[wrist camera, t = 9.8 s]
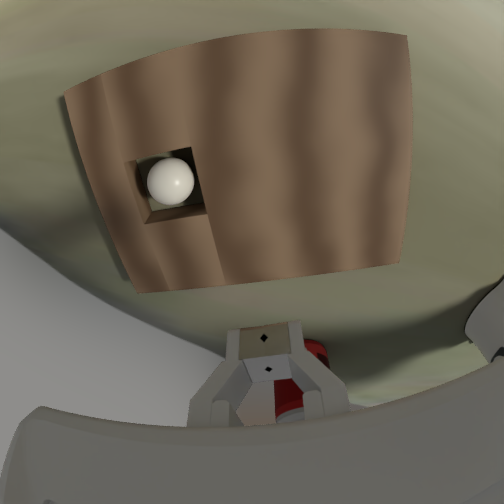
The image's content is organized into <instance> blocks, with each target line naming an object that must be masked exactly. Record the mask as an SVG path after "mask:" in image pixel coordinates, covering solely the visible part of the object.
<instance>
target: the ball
mask: <svg viewBox="0 0 504 504" xmlns="http://www.w3.org/2000/svg"><path fill="white" fill-rule="evenodd" d="M147 186H148V190H149V192H150V194H151V196H152V197H153V198H154V199H155V200H156V201H158V202H159V203H162V204H165V205H175V204H178V203H181V202H182V201H184V200H185V199H186V198H187V197H188V196H189V195H190V194H191V192H192V190H193V187H194V174H193V171H192V169H191V168H190V166H189V165H188V164H187V163H186V162H184V161H183V160H181V159H178V158H165V159H162V160H160V161H159V162H157V163H156V164H155V165H154V166H153V167H152V168H151V170H150V172H149V174H148V178H147Z"/></svg>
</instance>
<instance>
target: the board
mask: <svg viewBox="0 0 504 504" xmlns="http://www.w3.org/2000/svg"><path fill="white" fill-rule="evenodd" d="M64 97H65V101H66V105H67V109H68V113H69V117H70V121H71V125H72V128H73V132H74V135H75V139H76V142H77V146H78V149H79V152H80V155H81V159H82V162H83V165H84V168H85V171H86V174H87V177H88V180H89V182H90V185H91V188H92V191H93V193H94V196H95V199H96V201H97V204H98V207H99V209H100V212H101V214H102V217H103V219H104V222H105V224H106V227H107V229H108V231H109V234H110V236H111V238H112V241H113V243H114V245H115V248H116V250H117V252H118V254H119V256H120V259H121V261H122V263H123V265H124V267H125V269H126V271H127V273H128V275H129V278H130V280H131V282H132V284H133V286H134V288H135V290H136V292H137V294H138V293H150V292H162V291H173V290H184V289H195V288H205V287H215V286H225V285H234V284H243V283H252V282H261V281H270V280H278V279H287V278H295V277H303V276H311V275H318V274H326V273H333V272H341V271H348V270H355V269H362V268H369V267H376V266H382V265H389V264H396V263H399V261H400V256H401V250H402V244H403V238H404V231H405V224H406V217H407V209H408V200H409V190H410V178H411V163H412V138H413V107H412V83H411V69H410V58H409V49H408V41H407V35H401V34H394V33H386V32H377V31H367V30H353V29H291V30H277V31H266V32H257V33H249V34H242V35H235V36H229V37H223V38H218V39H213V40H208V41H203V42H198V43H194V44H190V45H186V46H182V47H178V48H174V49H171V50H167V51H164V52H160V53H157V54H154V55H151V56H148V57H145V58H142V59H139V60H136V61H133V62H130V63H127V64H125V65H122V66H120V67H117V68H114V69H112V70H109V71H107V72H105V73H102V74H100V75H98V76H95V77H93V78H91V79H89V80H87V81H84V82H82V83H80V84H78V85H76V86H74V87H72V88H70V89H68V90H66V91H64ZM190 146H191V148H192V152H193V157H194V161H195V165H196V170H197V174H198V178H199V182H200V186H201V190H202V195H203V199H204V203H200V204H193V205H188V206H182V207H176V208H170V209H165V210H159V211H154V212H152V210H151V207H150V204H149V201H148V198H147V195H146V192H145V189H144V186H143V182H142V179H141V176H140V173H139V169H138V166H137V162H136V159H139V158H143V157H147V156H151V155H155V154H159V153H163V152H168V151H172V150H176V149H181V148H186V147H190Z"/></svg>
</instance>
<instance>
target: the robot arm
mask: <svg viewBox="0 0 504 504" xmlns="http://www.w3.org/2000/svg"><path fill="white" fill-rule="evenodd" d="M465 334H466V336H467V337H469V338H470V339H471V340H472V341H473V343H474V344H475V346H477V347H478V349H479V350H480V351H481V353H482V354H483V356H484V357H485V359H486V360H487V362H488V363H489V364H488V365H486V366H484V367H482V368H480V369H477V370H475V371H473V372H471V373H469V374H466V375H464V376H462V377H459V378H457V379H454V380H452V381H450V382H447V383H445V384H442V385H439V386H437V387H434V388H431V389H428V390H426V391H423V392H420V393H417V394H414V395H411V396H408V397H404V398H401V399H398V400H395V401H391V402H388V403H384V404H380V405H376V406H373V407H369V408H365V409H360V410H356V411H351V409H350V404H349V399H348V395H347V390H346V385H345V383H344V382H342V381H341V380H340V379H339V378H338V377H337V376H336V375H335V374H334V373H332V372H331V371H330V370H329V369H328V368H327V367H326V366H325V365H324V364H323V363H322V362H320V361H319V360H318V359H317V358H316V357H315V356H314V355H313V354H312V353H311V352H310V351H305V346H304V340H303V333H302V327H301V321H300V320H296V321H290V322H283V323H277V324H271V325H264V326H259V327H250V328H241V329H232V330H229V331H228V333H227V345H226V358H225V362H221V364H220V365H219V366H218V367H217V369H216V370H215V371H214V372H213V373H212V375H211V376H210V377H209V378H208V380H207V381H206V382H205V383H204V385H203V386H202V387H201V388H200V389H199V390H198V392H197V393H196V394H195V395H194V396H193V398H192V399H191V400H190V405H189V413H188V420H187V427H174V426H158V425H145V424H135V423H127V422H119V421H112V420H106V419H99V418H94V417H88V416H83V415H78V414H73V413H68V412H65V411H60V410H56V409H52V408H49V407H45V406H40V407H38V408H36V409H35V410H33V411H32V412H31V413H30V414H29V415H28V416H27V417H25V418H24V419H23V420H22V421H21V422H20V424H19V426H18V427H17V429H16V431H15V433H14V436H13V439H12V441H11V444H10V447H9V450H8V452H7V455H6V459H5V462H4V465H3V469H2V473H1V477H0V504H504V279H503V281H502V282H501V283H500V284H499V285H498V286H497V287H496V288H495V289H493V290H492V291H491V292H490V293H489V294H488V295H487V296H486V297H485V298H484V299H483V300H482V301H481V302H480V303H479V305H478V306H477V307H476V308H475V310H474V311H473V313H472V314H471V316H470V317H469V319H468V321H467V324H466V327H465ZM289 378H292V379H293V381H294V382H295V383H296V384H297V385H298V386H299V388H300V389H301V390H302V391H303V392H304V394H303V404H304V415H305V420H301V421H294V422H286V423H277V424H266V425H254V426H244V425H243V423H242V422H241V420H240V418H239V417H238V415H237V414H236V410H237V408H238V407H239V405H240V403H241V402H242V400H243V399H244V397H245V396H246V394H247V392H248V390H249V389H250V387H251V385H252V383H255V382H263V381H270V380H280V379H289Z"/></svg>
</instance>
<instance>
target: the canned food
mask: <svg viewBox="0 0 504 504" xmlns="http://www.w3.org/2000/svg"><path fill="white" fill-rule="evenodd" d="M304 346H305V351H310V352H311V353H312V354H313V355H314V356H315V357H316V358H317V359H318V360H319V361H320V362H322V363H323V364H324V365H325V366H326V367H327V368H328V369H329V370H330V366H329V361H328V356H327V352H326V350H325V348H324V347H323V345H322V344H321V343H319V342H317V341H314V340H304ZM274 393H275V416H276V424H277V423H286V422H294V421H301V420H305V415H304V404H303V394H304V392H303V391H302V390H301V389H300V388H299V386H298V385H297V384H296V383H295V382H294V381H293V379H292V378H289V379H280V380H274Z"/></svg>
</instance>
